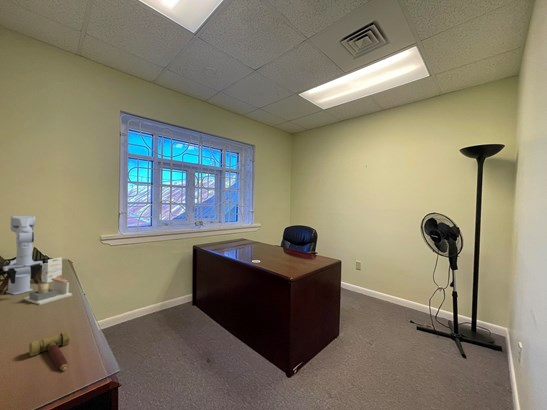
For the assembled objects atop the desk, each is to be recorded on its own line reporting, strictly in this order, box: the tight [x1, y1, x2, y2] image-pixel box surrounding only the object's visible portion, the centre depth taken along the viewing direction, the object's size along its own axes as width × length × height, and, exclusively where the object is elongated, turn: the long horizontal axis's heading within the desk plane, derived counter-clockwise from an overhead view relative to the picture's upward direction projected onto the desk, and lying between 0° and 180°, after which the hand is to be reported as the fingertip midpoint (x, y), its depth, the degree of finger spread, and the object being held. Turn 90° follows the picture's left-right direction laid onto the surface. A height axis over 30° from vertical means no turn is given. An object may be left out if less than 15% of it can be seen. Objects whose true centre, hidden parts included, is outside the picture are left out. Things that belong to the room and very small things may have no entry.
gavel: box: [28, 330, 71, 372], centre depth 79 cm, size 21×5×10 cm
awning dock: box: [23, 277, 73, 306], centre depth 126 cm, size 14×14×8 cm
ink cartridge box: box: [41, 256, 63, 284], centre depth 152 cm, size 9×5×15 cm, turn 168°
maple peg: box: [37, 282, 50, 294], centre depth 124 cm, size 4×4×7 cm
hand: (23, 281), depth 123 cm, fingers open, 7 cm apart
